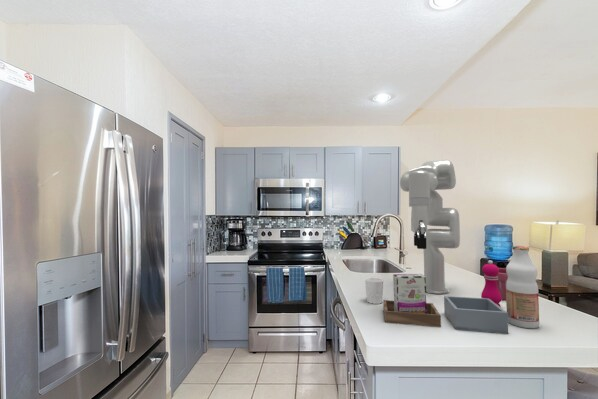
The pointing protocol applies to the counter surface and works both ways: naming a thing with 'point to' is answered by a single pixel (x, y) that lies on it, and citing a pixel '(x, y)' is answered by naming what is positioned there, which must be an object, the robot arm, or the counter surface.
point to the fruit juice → (522, 290)
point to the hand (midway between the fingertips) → (419, 247)
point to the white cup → (374, 290)
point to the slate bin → (475, 314)
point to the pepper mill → (491, 283)
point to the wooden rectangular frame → (412, 315)
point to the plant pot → (502, 282)
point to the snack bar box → (410, 293)
